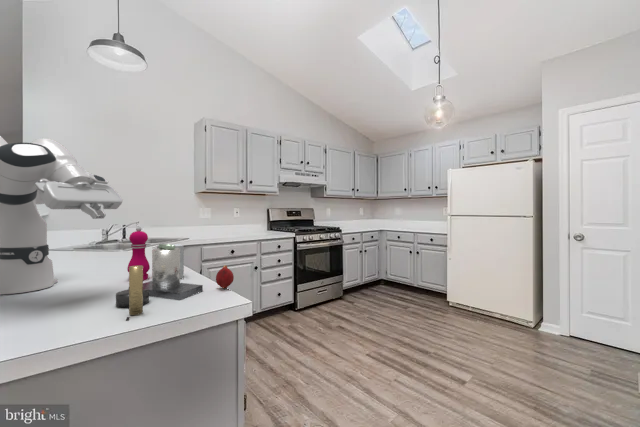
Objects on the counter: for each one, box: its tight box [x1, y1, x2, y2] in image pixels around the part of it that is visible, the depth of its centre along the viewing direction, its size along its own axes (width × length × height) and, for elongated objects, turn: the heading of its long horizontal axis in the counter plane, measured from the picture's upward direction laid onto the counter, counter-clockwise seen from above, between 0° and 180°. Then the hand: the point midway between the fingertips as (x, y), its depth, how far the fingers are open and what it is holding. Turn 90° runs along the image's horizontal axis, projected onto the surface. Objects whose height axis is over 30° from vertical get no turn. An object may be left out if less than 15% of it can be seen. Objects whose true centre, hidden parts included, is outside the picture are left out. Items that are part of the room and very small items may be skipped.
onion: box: [215, 264, 235, 289], centre depth 101 cm, size 6×6×8 cm
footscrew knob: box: [115, 265, 150, 316], centre depth 81 cm, size 8×16×12 cm, turn 36°
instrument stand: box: [125, 243, 204, 321], centre depth 87 cm, size 20×27×16 cm
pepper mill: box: [126, 226, 151, 282], centre depth 112 cm, size 7×7×20 cm
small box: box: [156, 243, 185, 280], centre depth 114 cm, size 8×6×13 cm
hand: (99, 217), depth 84 cm, fingers closed
